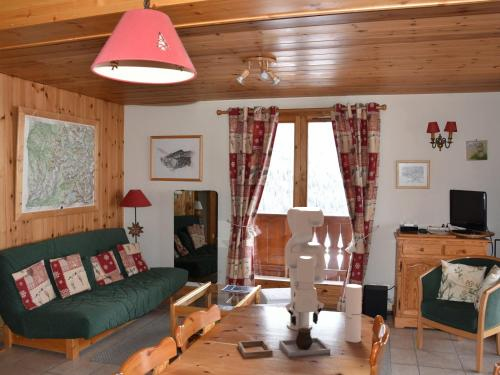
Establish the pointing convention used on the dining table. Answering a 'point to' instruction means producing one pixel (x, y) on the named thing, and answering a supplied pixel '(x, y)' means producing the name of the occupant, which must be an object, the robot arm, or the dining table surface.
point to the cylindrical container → (353, 313)
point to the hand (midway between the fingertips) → (304, 323)
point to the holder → (255, 353)
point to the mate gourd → (304, 338)
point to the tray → (294, 352)
